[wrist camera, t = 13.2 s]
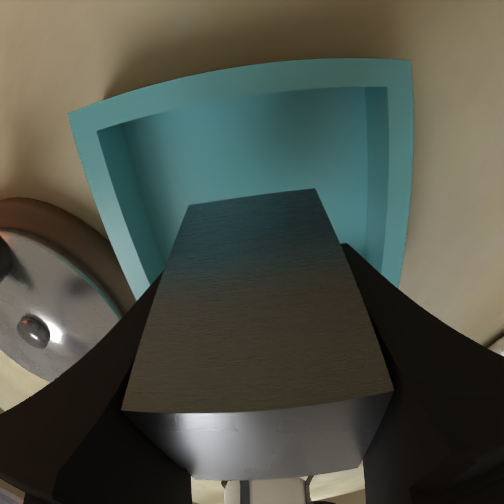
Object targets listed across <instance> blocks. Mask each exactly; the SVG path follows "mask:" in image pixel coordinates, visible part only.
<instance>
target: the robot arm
mask: <svg viewBox="0 0 504 504" xmlns="http://www.w3.org/2000/svg"><path fill="white" fill-rule="evenodd" d="M340 245H341V247H342V250H343V252H344V254H345V257H346V259H347V261H348V264H349V266H350V269H351V271H352V274H353V276H354V279H355V281H356V284H357V286H358V289H359V291H360V294H361V297H362V299H363V302H364V304H365V307H366V310H367V312H368V315H369V318H370V320H371V323H372V326H373V329H374V332H375V334H376V337H377V340H378V343H379V346H380V349H381V352H382V354H383V357H384V360H385V363H386V366H387V369H388V373H389V376H390V379H391V382H392V385H393V388H394V392H393V395H392V397H391V399H390V402H389V404H388V407H387V409H386V411H385V413H384V416H383V418H382V420H381V422H380V424H379V427H378V429H377V431H376V433H375V435H374V437H373V439H372V441H371V443H370V445H369V447H368V449H367V451H366V453H365V455H364V457H363V467H364V478H365V493H366V504H504V356H502V355H500V354H498V353H495V352H493V351H491V350H490V349H488V348H486V347H484V346H482V345H480V344H478V343H476V342H475V341H473V340H471V339H470V338H468V337H466V336H464V335H463V334H461V333H459V332H457V331H456V330H454V329H453V328H451V327H450V326H448V325H446V324H445V323H443V322H442V321H441V320H439V319H438V318H436V317H435V316H433V315H432V314H430V313H429V312H427V311H426V310H425V309H423V308H422V307H420V306H419V305H418V304H416V303H415V302H414V301H413V300H411V299H410V298H409V297H408V296H406V295H405V294H404V293H403V292H401V291H400V290H399V289H398V288H396V287H395V286H394V285H393V284H392V283H391V282H390V281H388V280H387V279H386V278H385V277H384V276H383V275H382V274H380V273H379V272H378V271H377V270H376V269H375V268H374V267H373V266H372V265H371V264H370V263H368V262H367V261H366V260H365V259H364V258H363V257H362V256H361V255H360V254H359V253H358V252H357V251H356V250H354V249H353V248H352V247H351V246H350V245H349V244H348V243H341V244H340ZM163 272H164V270H163V271H162V273H161V274H160V275H159V276H158V277H157V278H156V279H155V281H154V282H153V283H152V284H151V285H150V286H149V288H148V289H147V290H146V291H145V292H144V293H143V295H142V296H141V297H140V298H139V299H138V300H137V301H136V303H135V304H134V305H133V306H132V307H131V308H130V310H129V311H128V312H127V313H126V314H125V315H124V316H123V317H122V318H121V319H120V320H119V321H118V322H117V323H116V325H115V326H114V327H113V328H112V329H111V330H110V331H109V332H108V333H107V334H106V335H105V336H104V337H103V338H102V339H101V340H100V341H99V342H98V343H97V344H96V345H95V346H94V347H93V348H92V349H91V350H90V351H89V352H87V353H86V354H85V355H84V356H83V357H82V358H81V359H80V360H79V361H77V362H76V363H75V364H74V365H72V366H71V367H70V368H69V369H67V370H66V371H65V372H64V373H62V374H61V375H60V376H59V377H57V378H56V379H55V380H54V381H52V382H51V383H50V384H48V385H47V386H45V387H44V388H43V389H41V390H40V391H38V392H37V393H35V394H34V395H32V396H31V397H29V398H28V399H26V400H25V401H23V402H21V403H20V404H18V405H16V406H14V407H13V408H11V409H9V410H7V411H5V412H4V413H2V414H0V479H2V480H4V481H5V482H7V483H9V484H11V485H12V486H14V487H16V488H18V489H20V490H22V491H24V492H25V498H24V500H23V499H21V498H19V497H17V496H15V495H13V494H12V493H10V492H8V491H6V490H4V489H2V488H1V487H0V504H192V494H191V475H189V474H188V473H187V472H186V471H185V470H183V469H182V468H181V467H180V466H179V465H177V464H176V463H175V462H174V461H173V460H172V459H171V458H169V457H168V456H167V455H166V454H165V453H164V452H163V451H162V450H161V449H159V448H158V447H157V446H156V445H155V444H154V443H153V442H152V441H151V440H150V439H149V438H148V437H147V436H146V435H145V434H144V433H143V432H142V431H141V430H140V429H139V428H138V427H137V426H136V425H135V424H134V423H133V422H132V421H131V420H130V419H129V418H128V417H127V416H126V415H125V414H124V413H123V412H122V411H121V408H122V404H123V400H124V397H125V393H126V389H127V386H128V382H129V378H130V375H131V371H132V368H133V364H134V361H135V358H136V354H137V351H138V348H139V344H140V341H141V338H142V335H143V331H144V328H145V325H146V322H147V319H148V316H149V313H150V310H151V307H152V304H153V301H154V298H155V295H156V292H157V289H158V286H159V283H160V280H161V277H162V275H163Z"/></svg>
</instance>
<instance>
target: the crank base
mask: <svg viewBox="0 0 504 504" xmlns="http://www.w3.org/2000/svg"><path fill="white" fill-rule="evenodd" d="M0 226H9V227H16V228H21V229H24V230H28V231H31V232H33V233H36V234H38V235H40V236H43V237H45V238H46V239H48V240H50V241H52V242H54V243H55V244H57V245H59V246H60V247H62V248H63V249H65V250H66V251H68V252H69V253H71V254H72V255H73V256H74V257H76V258H77V259H78V260H79V261H81V262H82V263H83V264H84V265H86V266H87V267H88V268H89V269H90V270H91V271H92V272H93V273H94V274H95V275H96V276H97V277H98V278H99V279H100V280H101V281H102V282H103V283H104V284H105V285H106V286H107V288H108V289H109V290H110V291H111V292H112V294H113V295H114V296H115V298H116V299H117V300H118V302H119V303H120V305H121V306H122V308H123V309H124V311H125V313H127V312H128V311H129V310H130V308H131V307H132V306H133V305H134V304H135V303H136V299H135V296H134V294H133V292H132V290H131V288H130V286H129V284H128V281H127V279H126V277H125V275H124V272H123V270H122V268H121V266H120V263H119V261H118V259H117V256H116V254H115V252H114V249H113V247H112V245H111V244H110V243H109V242H108V241H107V240H106V239H105V238H103V237H102V236H101V235H100V234H99V233H98V232H96V231H95V230H94V229H93V228H91V227H90V226H89V225H87V224H86V223H84V222H83V221H81V220H80V219H79V218H77V217H75V216H73V215H72V214H70V213H68V212H66V211H65V210H63V209H61V208H58V207H56V206H53V205H51V204H49V203H46V202H42V201H38V200H35V199H28V198H8V199H4V200H1V201H0Z"/></svg>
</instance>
